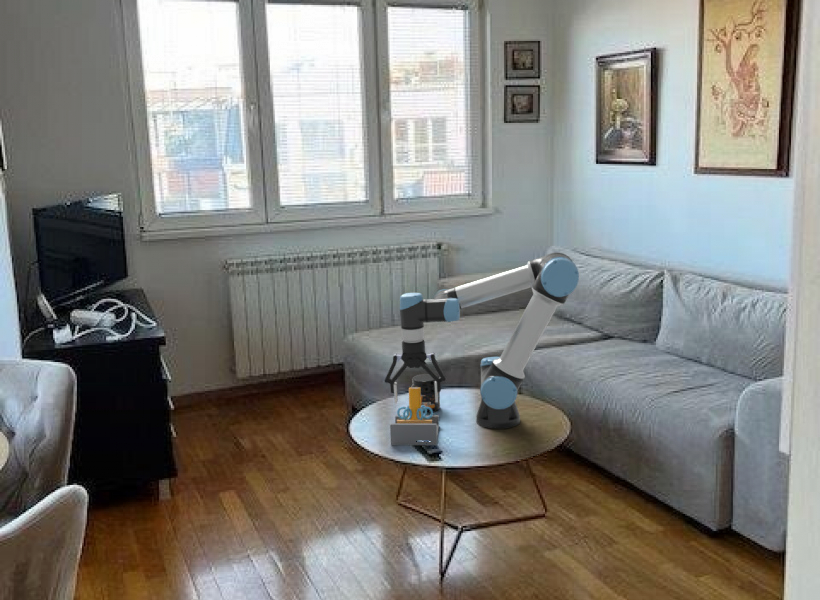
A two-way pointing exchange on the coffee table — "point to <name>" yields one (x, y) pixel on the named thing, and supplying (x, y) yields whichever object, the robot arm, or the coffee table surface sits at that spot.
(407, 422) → the bar
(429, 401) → the supplement container
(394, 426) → the frame
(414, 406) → the cylinder
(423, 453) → the coffee table surface
